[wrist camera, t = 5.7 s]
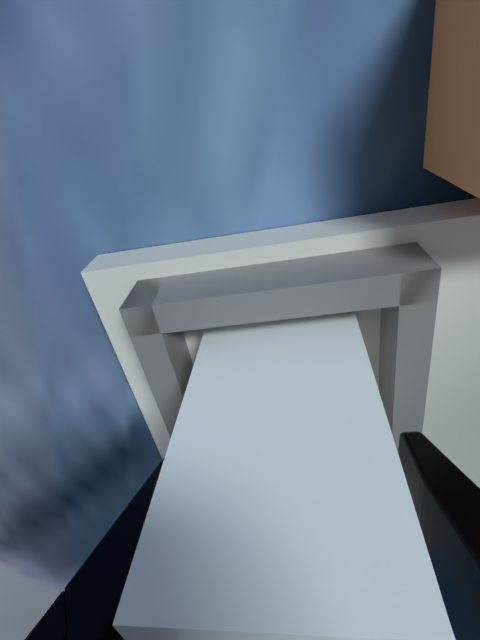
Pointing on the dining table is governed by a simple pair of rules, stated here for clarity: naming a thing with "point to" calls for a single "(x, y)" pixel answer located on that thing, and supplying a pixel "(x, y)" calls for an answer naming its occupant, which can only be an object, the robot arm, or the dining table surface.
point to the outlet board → (315, 310)
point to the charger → (282, 500)
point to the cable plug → (455, 96)
